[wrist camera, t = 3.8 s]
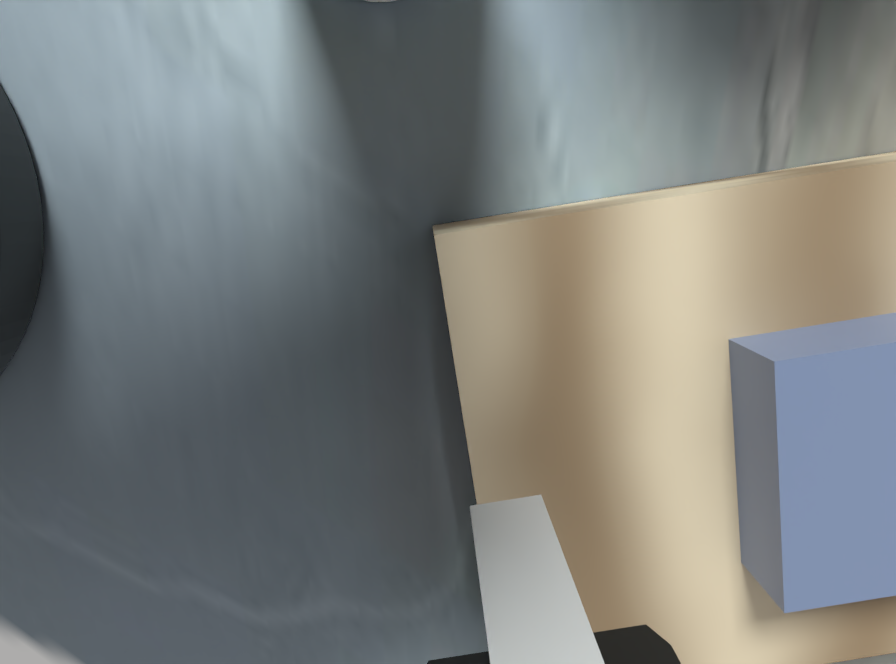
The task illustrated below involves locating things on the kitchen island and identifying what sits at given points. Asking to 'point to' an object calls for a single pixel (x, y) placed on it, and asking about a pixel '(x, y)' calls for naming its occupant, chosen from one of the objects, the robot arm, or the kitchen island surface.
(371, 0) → the supplement bottle
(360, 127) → the kitchen island surface
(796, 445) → the flat periwinkle box
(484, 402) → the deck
